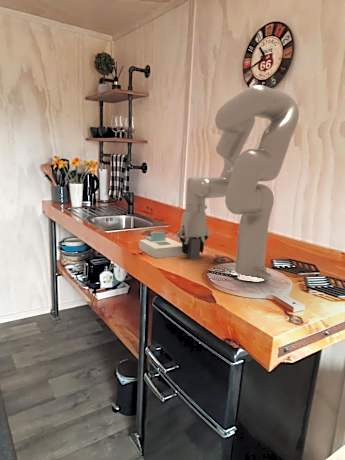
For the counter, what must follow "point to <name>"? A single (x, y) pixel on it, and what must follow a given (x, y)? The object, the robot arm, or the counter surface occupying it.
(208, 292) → the counter surface
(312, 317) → the counter surface
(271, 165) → the robot arm
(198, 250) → the dark grey upright block
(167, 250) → the socket
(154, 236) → the shutter
